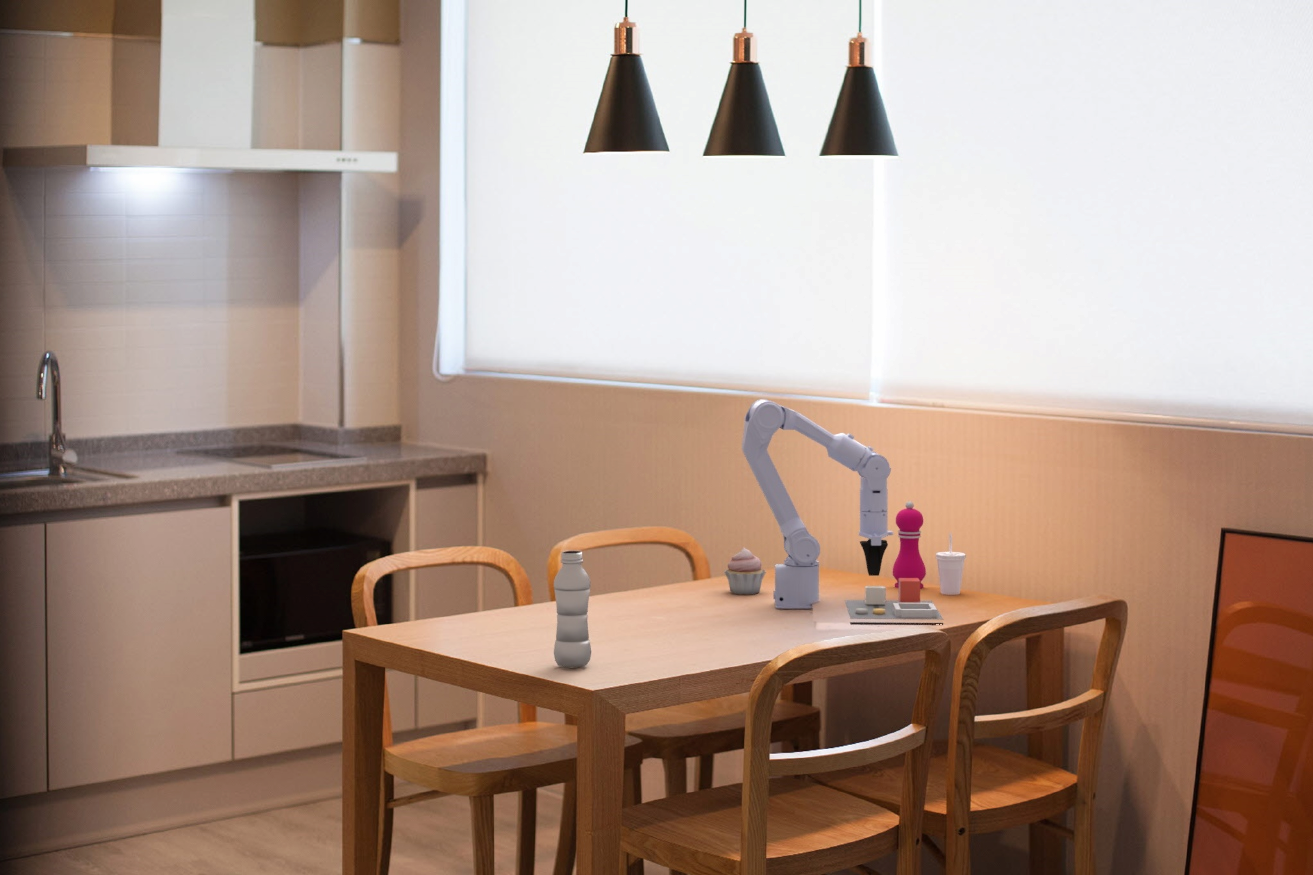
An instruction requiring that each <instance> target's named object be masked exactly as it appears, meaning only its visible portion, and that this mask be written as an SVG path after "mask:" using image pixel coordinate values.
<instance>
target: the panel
mask: <svg viewBox="0 0 1313 875" xmlns="http://www.w3.org/2000/svg"><path fill="white" fill-rule="evenodd" d="M844 602H845V606H846V608H847V612H848V615H849V619H851V620H863V619H864V620H944V618H943V616H942V615H941V613H940V611H939V610H938V608H937V607H936V605H935V604H934V602H933V600H920V603H899V600H886V605H882V604H866V603H865V599H864V600H860V599H859V600H855V599H854V600H853V599H851V600H847V599H845V600H844ZM849 624H850V625H853V626H854V625H858V626H860V625H863V626H864V625H865V626H874V625H875V626H884V625H885V626H937V625H936V624H939V625H938V626H944V623H943V622H887V621H886V622H885V621H884V622H880V621H879V622H878V621H877V622H876V621H875V622H874V621H873V622H871V621H868V622H866V621H865V622H863V621H856V622H855V621H853V622H851V621H849ZM940 624H942V625H940Z"/></svg>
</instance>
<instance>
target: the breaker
mask: <svg viewBox="0 0 1313 875" xmlns="http://www.w3.org/2000/svg"><path fill="white" fill-rule="evenodd" d="M864 588H865V589H864V590H865V593H864V596H865V597H864V600H865V603H866V604H882V605H886V601H887V600H886V599H887V598H886V596H887V594H886V593H887V588H886V586H885V585H865V586H864Z"/></svg>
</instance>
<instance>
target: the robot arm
mask: <svg viewBox="0 0 1313 875" xmlns="http://www.w3.org/2000/svg"><path fill="white" fill-rule="evenodd" d="M743 419H744V428H743V432H742V433H743V434H742V443H741V450H742V453H743V455H744V457H745V460H746V461H747V463H748V466H749V467H750V469H751V471H752V474H753V476H754V477H755V479H756V482H757V483H758V487H759V488H760V490H761V492H762V494H763V496H764V497H765V501H766V502H767V504H768V505H769V506H768V507H769V508H770V509H771V512H772V513H773V516H774V518H775V520H776V522H777V524H778V526H779V527H778V528H779V530H780V532H781V535H782V537H783V549H784V551H785V553H786V554H787V557H786V558H785V559H784V560H783V563H776V564H775V565H774V590H773V600H774V607H775V608H774V609H778V610H779V609H780V610H781V609H784V610H785V609H786V610H787V609H790V610H791V609H792V610H795V609H796V610H798V609H800V610H801V609H802V610H803V609H805V610H806V609H807V610H809V609H810V610H811V609H814V607H813V604H816V603H818V602H820V561H819V560H817V559H819V556H820V554H821V546H820V542H819V541H818V539H816V537H815V536H813V535H812V534H810V533H809V531H808V529H807V526H806V525H805V524H804V522H803V520H802V518H801V517H800V515H799V512H798V511H797V509H796V506H795V504H794V502H793V501H792V499H791V498H792V497H790V495H789V493H788V491H787V488H786V487H785V484H784V482H783V480H782V478H781V476H780V474H779V472H778V470H777V468H776V466H775V464H774V462H773V460H772V458H771V456H770V454H769V452H768V447H769V446H770V444H771V440H772V438H773V436H774V435H775V433H776V432H777V431H778V430H779V429H781V430H784V431H789V430H790V431H795V432H798V433H800V434H801V435H803V436H805V437H807V438H808V439H811V440H812V441H814V442H815V443H818V444H819V445H821V446H823V447H824V448H825V449H826V452H827V455H828V457H829V458H831V459H832V460H834V461H836V462H837V463H839V464H841V465H842V466H844V467H846V468H847V469H850V470H851V471H852V472H857V473H858V475H859V476H860V488H859V531H858V536H859V537H862V538H865V539H867V540H861V541H859V544H860V545H861V548H862V550H863V554H864V558H865V563H866V569H867V573H868V576H870V577H871V576H873V577H874V576H875V577H876V576H877V577H878V576H880V573H881V568H882V562H883V558H884V555H885V552H886V549H887V548H888V545H889V544H888V541H887V540H886V539H884V538H886V537H888V536H893V535H894V531H893V530H888V508H889V507H888V503H889V502H888V477H889V476H890V474H891V470H892V468H891V466H890V464H889V461H888V459H887V458H885V456H883V455H881V454H878V453H877V451H874V447H871V446H870V445H868V446H866V445H864V444H862V443H860V442H858V441H857V440H856V439H854V438H855V435H852V434H851V433H847V434H846V433H844V432H840V433H837V434H833V433H831V432H830V431H828V430H826V429H825V428H824V427H823V426H820V425H819V424H818V423H815V422H814V421H812V420H811V419H809V418H808V417H806V416H804V415H803V414H801V413H800V412H799V411H796V410H793V409H791V408H789V407H787V406H783V405H779V404H778V403H777V402H775V401H772V400H769V399H766V398H761V399H758V400H755V401H754V402H753V403H752V404H751V405H750V406H749V408H748V411H747V412H746V414H745V415H744V418H743Z"/></svg>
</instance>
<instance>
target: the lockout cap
mask: <svg viewBox="0 0 1313 875" xmlns="http://www.w3.org/2000/svg"><path fill="white" fill-rule="evenodd" d="M898 601H899V603H920V601H921V588H920V580H919V579H918V578H899V588H898Z"/></svg>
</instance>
